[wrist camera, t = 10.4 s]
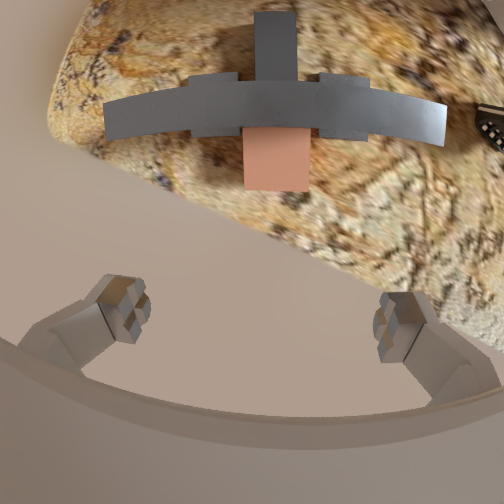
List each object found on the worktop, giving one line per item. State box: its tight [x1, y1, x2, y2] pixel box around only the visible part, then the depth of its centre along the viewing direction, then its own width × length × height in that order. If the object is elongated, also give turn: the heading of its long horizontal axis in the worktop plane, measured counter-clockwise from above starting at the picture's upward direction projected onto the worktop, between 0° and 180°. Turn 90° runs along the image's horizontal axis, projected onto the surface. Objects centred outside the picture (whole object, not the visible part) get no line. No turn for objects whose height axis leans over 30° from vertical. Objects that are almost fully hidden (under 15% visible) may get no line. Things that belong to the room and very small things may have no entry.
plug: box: [243, 11, 311, 192], centre depth 19 cm, size 15×5×5 cm, turn 1°
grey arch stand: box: [103, 72, 447, 147], centre depth 16 cm, size 6×16×14 cm, turn 91°
